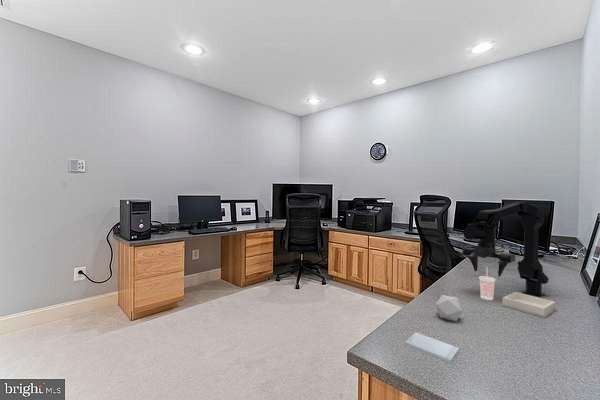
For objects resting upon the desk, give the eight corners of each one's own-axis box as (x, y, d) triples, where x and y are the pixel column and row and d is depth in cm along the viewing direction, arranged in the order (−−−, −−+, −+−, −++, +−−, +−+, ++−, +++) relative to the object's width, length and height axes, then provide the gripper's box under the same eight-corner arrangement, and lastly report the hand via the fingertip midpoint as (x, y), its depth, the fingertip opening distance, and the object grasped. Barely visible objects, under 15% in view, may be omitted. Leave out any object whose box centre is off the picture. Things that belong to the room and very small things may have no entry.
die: (464, 319, 97) (450, 293, 102) (470, 316, 90) (455, 289, 95) (443, 326, 98) (429, 300, 103) (447, 323, 91) (432, 296, 96)
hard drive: (405, 341, 78) (451, 359, 70) (415, 331, 84) (459, 347, 75) (405, 346, 78) (451, 365, 70) (415, 336, 84) (459, 352, 75)
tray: (515, 299, 115) (515, 291, 115) (555, 310, 104) (555, 301, 104) (502, 306, 108) (502, 297, 108) (543, 318, 97) (544, 308, 97)
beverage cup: (475, 295, 120) (475, 264, 120) (489, 295, 120) (489, 265, 120) (484, 300, 114) (484, 268, 114) (498, 300, 114) (499, 268, 114)
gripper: (456, 237, 120) (456, 271, 120) (504, 243, 104) (504, 282, 105) (468, 235, 126) (468, 268, 126) (516, 241, 110) (515, 278, 110)
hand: (487, 273), depth 117 cm, fingers open, 9 cm apart
